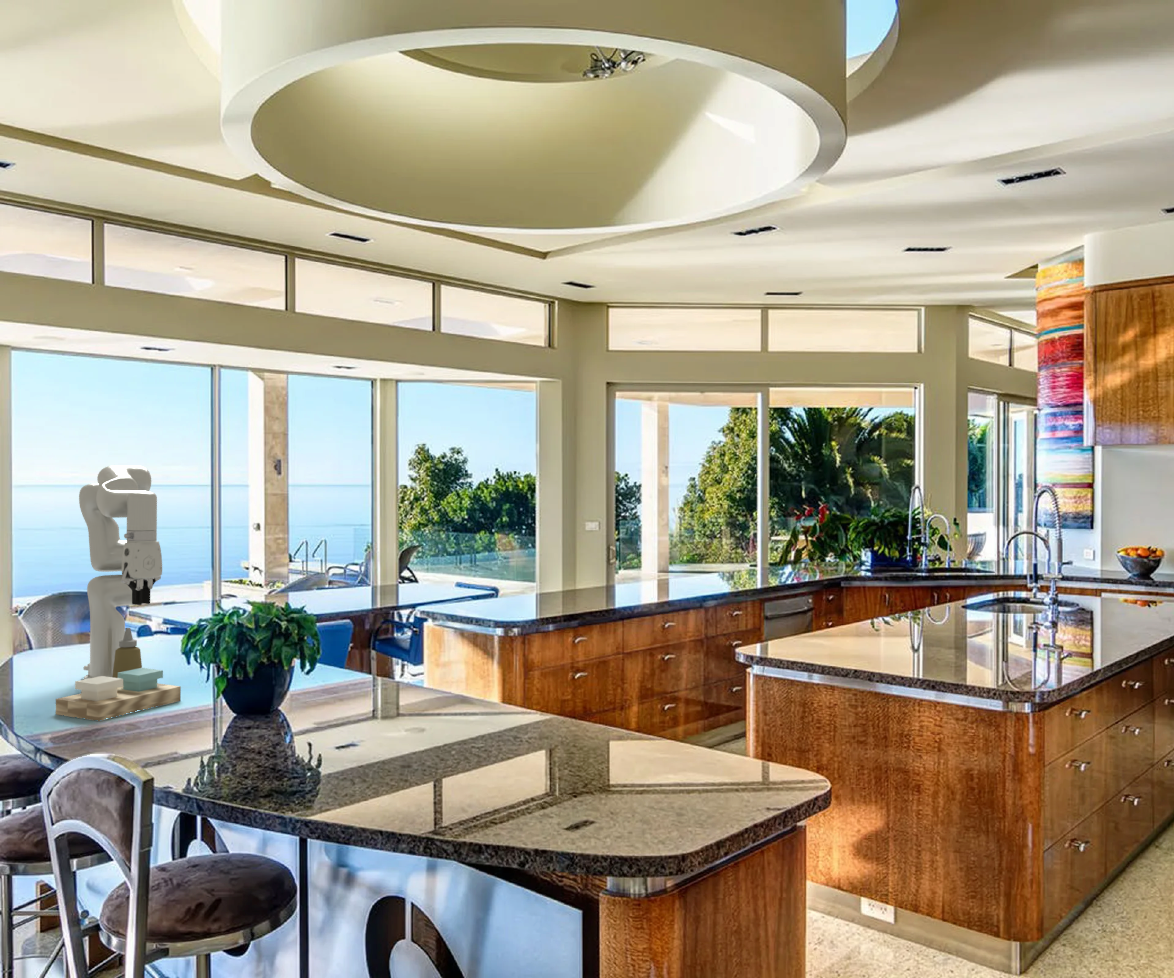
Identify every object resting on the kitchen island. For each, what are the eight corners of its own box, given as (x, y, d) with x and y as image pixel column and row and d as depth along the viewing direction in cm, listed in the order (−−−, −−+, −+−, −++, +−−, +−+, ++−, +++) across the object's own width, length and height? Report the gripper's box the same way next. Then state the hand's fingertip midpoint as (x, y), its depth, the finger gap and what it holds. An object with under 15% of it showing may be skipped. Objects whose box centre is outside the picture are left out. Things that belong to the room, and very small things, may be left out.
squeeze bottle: (134, 693, 280) (135, 630, 280) (106, 692, 281) (107, 629, 280) (147, 687, 289) (148, 626, 288) (120, 686, 289) (121, 625, 289)
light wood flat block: (99, 721, 248) (99, 705, 248) (55, 714, 255) (55, 698, 255) (180, 700, 272) (180, 686, 272) (138, 694, 279) (138, 680, 279)
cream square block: (96, 703, 252) (96, 684, 252) (75, 700, 256) (75, 681, 255) (123, 697, 259) (123, 678, 259) (101, 694, 263) (101, 675, 263)
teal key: (138, 693, 264) (138, 675, 264) (117, 690, 267) (117, 672, 267) (162, 688, 271) (162, 670, 271) (141, 685, 275) (142, 667, 275)
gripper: (127, 538, 260) (126, 608, 260) (174, 536, 275) (174, 601, 275) (107, 537, 263) (106, 606, 263) (155, 535, 278) (154, 600, 278)
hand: (141, 603), depth 269 cm, fingers closed
